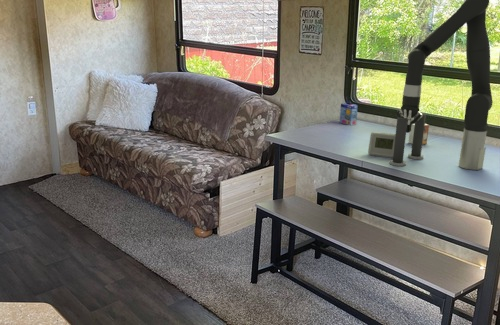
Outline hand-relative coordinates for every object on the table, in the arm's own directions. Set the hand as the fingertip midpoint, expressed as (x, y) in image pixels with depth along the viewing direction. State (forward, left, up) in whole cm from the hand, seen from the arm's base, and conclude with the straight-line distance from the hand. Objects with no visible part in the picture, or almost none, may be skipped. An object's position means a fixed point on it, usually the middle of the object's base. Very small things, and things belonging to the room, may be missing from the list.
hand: (407, 132), depth 228 cm
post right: (-2, -8, -13) cm, 16 cm away
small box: (+11, -35, -14) cm, 39 cm away
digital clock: (+9, +1, -14) cm, 17 cm away
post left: (-2, +9, -13) cm, 16 cm away
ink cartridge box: (+65, -49, -14) cm, 83 cm away
